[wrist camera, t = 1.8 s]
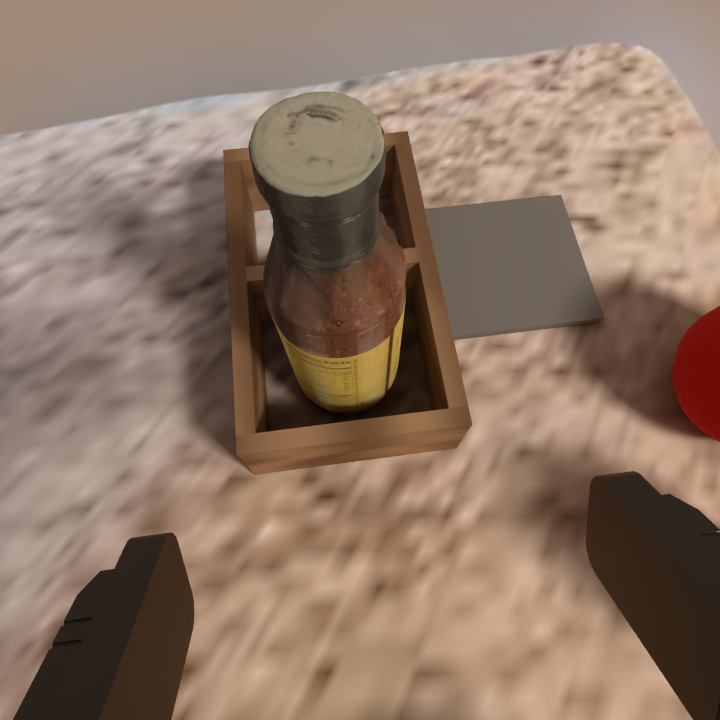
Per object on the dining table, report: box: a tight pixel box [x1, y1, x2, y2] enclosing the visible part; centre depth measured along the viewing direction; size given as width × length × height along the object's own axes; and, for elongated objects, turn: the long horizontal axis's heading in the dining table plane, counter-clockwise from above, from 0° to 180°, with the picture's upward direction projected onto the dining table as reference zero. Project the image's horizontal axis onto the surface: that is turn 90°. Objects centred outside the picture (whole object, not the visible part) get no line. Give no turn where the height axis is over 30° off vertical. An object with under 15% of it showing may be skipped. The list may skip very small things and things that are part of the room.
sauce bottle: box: [249, 92, 406, 415], centre depth 25 cm, size 6×6×20 cm
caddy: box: [223, 131, 472, 475], centre depth 33 cm, size 12×20×5 cm, turn 7°
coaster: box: [425, 195, 603, 340], centre depth 37 cm, size 10×10×1 cm
